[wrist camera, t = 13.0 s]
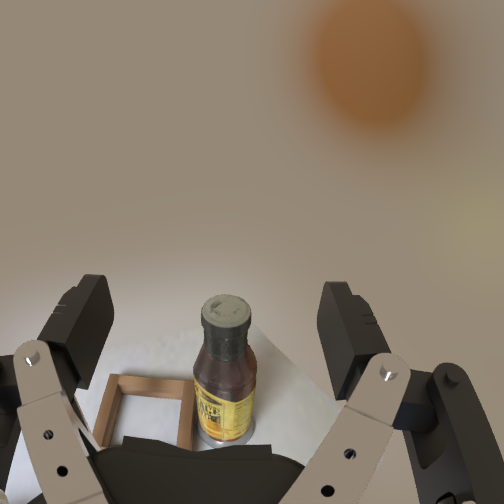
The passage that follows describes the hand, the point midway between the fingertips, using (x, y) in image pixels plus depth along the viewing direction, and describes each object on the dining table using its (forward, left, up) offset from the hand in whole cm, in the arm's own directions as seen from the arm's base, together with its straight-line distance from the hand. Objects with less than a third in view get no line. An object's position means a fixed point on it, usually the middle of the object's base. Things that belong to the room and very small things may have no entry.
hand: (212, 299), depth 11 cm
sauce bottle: (0, +11, -30) cm, 32 cm away
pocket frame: (-10, +10, -30) cm, 33 cm away
